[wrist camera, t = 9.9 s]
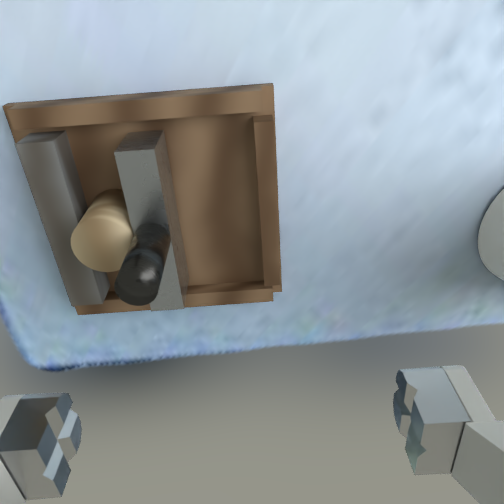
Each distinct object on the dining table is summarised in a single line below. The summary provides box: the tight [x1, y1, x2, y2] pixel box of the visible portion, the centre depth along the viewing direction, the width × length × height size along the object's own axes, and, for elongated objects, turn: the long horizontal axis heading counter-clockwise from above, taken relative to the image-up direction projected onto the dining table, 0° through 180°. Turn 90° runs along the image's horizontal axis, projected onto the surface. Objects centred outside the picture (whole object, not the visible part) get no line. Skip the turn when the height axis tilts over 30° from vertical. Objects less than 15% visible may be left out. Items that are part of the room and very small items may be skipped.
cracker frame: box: [3, 83, 282, 315], centre depth 40 cm, size 22×21×4 cm
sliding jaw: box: [114, 130, 189, 311], centre depth 36 cm, size 3×15×12 cm, turn 4°
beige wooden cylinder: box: [71, 189, 134, 272], centre depth 39 cm, size 5×5×6 cm
